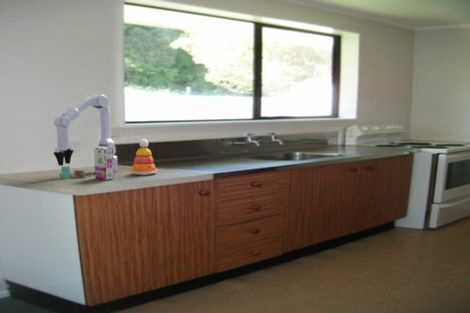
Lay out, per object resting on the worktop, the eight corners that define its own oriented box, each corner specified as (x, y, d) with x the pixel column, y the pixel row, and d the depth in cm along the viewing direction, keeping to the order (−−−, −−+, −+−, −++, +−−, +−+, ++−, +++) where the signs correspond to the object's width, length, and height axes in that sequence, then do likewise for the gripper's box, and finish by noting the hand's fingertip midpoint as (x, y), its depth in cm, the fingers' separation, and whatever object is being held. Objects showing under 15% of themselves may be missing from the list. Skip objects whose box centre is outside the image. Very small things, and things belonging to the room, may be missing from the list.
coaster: (77, 173, 274) (77, 172, 274) (78, 175, 265) (78, 174, 265) (60, 174, 271) (60, 173, 271) (60, 176, 262) (60, 175, 262)
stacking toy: (145, 176, 259) (144, 140, 257) (125, 174, 266) (124, 139, 264) (162, 173, 272) (161, 138, 269) (142, 171, 279) (141, 137, 276)
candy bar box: (114, 179, 251) (113, 147, 249) (105, 180, 247) (104, 148, 246) (103, 177, 259) (102, 146, 257) (94, 178, 255) (93, 147, 253)
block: (70, 177, 260) (69, 165, 260) (69, 178, 257) (69, 166, 256) (62, 177, 259) (61, 166, 259) (61, 178, 255) (61, 167, 255)
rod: (82, 177, 261) (82, 172, 261) (81, 177, 259) (81, 173, 259) (71, 177, 261) (70, 172, 260) (70, 178, 258) (69, 173, 258)
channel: (84, 175, 264) (83, 170, 264) (84, 177, 258) (84, 172, 258) (74, 176, 263) (74, 170, 262) (74, 178, 256) (74, 172, 256)
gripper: (63, 140, 248) (65, 166, 249) (76, 137, 262) (77, 162, 264) (50, 139, 249) (52, 166, 250) (64, 137, 263) (65, 162, 264)
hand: (64, 164), depth 257 cm, fingers open, 7 cm apart
